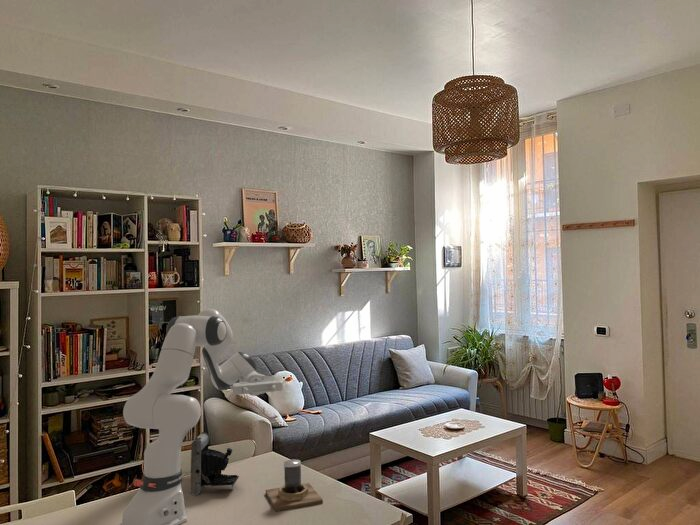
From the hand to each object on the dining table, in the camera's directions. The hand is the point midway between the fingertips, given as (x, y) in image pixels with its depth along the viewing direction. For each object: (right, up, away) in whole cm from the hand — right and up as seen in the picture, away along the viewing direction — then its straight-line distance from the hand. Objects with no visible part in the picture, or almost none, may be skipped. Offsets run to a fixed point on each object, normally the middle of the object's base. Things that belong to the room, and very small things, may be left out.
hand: (261, 390), depth 210 cm
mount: (+15, -31, -25) cm, 43 cm away
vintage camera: (-14, -32, -17) cm, 39 cm away
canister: (+15, -30, -25) cm, 42 cm away
